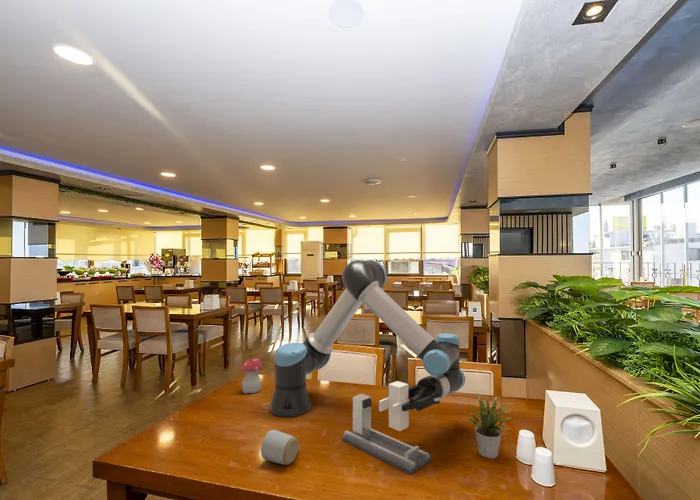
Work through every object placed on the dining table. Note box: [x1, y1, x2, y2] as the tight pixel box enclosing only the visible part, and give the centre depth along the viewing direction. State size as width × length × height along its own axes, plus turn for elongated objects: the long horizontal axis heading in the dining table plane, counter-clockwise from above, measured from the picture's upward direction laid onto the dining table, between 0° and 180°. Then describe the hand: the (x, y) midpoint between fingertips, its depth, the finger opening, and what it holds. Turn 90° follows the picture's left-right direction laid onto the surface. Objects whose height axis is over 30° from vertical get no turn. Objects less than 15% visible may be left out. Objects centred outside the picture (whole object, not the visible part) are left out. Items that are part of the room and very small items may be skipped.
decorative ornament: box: [240, 354, 263, 394], centre depth 156 cm, size 9×7×15 cm
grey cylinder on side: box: [260, 429, 300, 466], centre depth 103 cm, size 11×8×8 cm
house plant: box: [463, 394, 514, 459], centre depth 105 cm, size 14×14×16 cm
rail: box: [341, 393, 432, 475], centre depth 108 cm, size 26×10×13 cm, turn 45°
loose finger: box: [387, 380, 410, 432], centre depth 105 cm, size 5×4×12 cm
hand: (386, 408), depth 101 cm, fingers closed on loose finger, 4 cm apart
